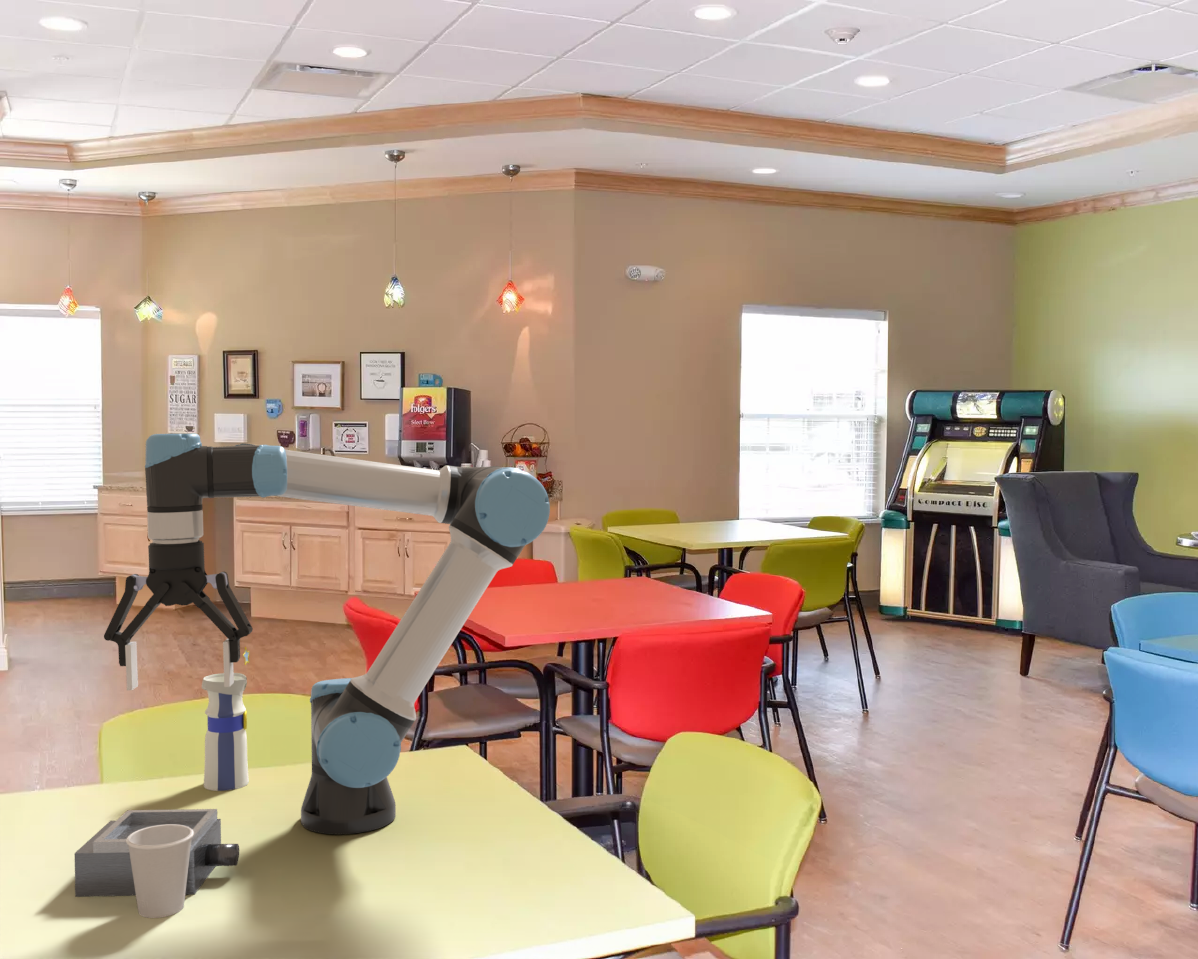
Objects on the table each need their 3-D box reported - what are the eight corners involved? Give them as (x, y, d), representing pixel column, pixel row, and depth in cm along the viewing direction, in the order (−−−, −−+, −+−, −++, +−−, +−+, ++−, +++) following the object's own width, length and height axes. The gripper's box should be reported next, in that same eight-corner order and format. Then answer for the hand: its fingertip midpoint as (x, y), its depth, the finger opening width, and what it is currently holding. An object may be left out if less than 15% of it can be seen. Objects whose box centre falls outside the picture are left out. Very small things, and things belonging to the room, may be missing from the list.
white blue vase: (250, 774, 210) (248, 640, 209) (251, 788, 202) (250, 648, 201) (203, 778, 208) (201, 642, 207) (202, 792, 200) (200, 651, 199)
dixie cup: (154, 927, 146) (153, 850, 145) (113, 912, 150) (112, 838, 150) (208, 904, 153) (207, 831, 152) (167, 891, 157) (166, 819, 157)
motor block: (248, 858, 169) (247, 808, 169) (224, 893, 156) (223, 839, 156) (111, 860, 168) (110, 810, 168) (75, 896, 155) (74, 842, 155)
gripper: (269, 535, 169) (274, 677, 170) (95, 540, 166) (100, 683, 167) (259, 540, 161) (263, 689, 162) (76, 545, 159) (82, 695, 160)
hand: (181, 686), depth 165 cm, fingers open, 13 cm apart
